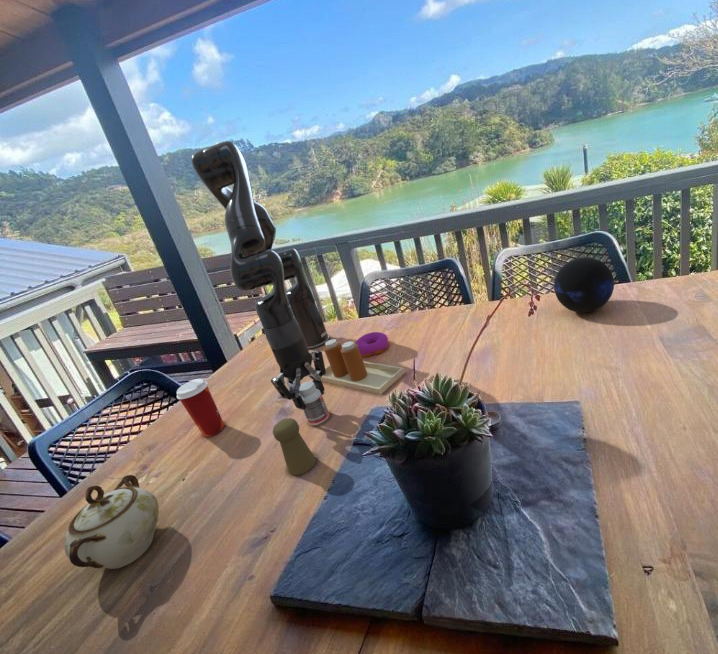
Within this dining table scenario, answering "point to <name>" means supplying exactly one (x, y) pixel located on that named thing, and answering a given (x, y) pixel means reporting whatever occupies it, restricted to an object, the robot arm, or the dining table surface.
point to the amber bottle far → (335, 358)
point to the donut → (372, 343)
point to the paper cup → (201, 406)
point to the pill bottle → (313, 403)
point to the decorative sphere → (584, 285)
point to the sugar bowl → (112, 526)
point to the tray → (368, 377)
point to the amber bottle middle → (353, 361)
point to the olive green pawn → (293, 447)
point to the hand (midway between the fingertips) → (311, 400)
